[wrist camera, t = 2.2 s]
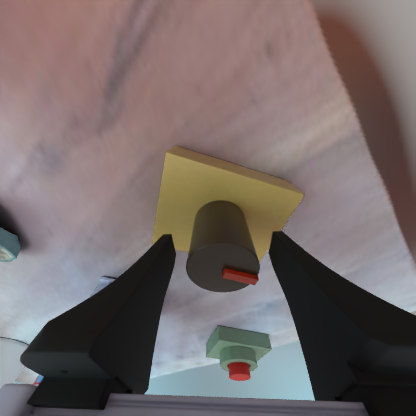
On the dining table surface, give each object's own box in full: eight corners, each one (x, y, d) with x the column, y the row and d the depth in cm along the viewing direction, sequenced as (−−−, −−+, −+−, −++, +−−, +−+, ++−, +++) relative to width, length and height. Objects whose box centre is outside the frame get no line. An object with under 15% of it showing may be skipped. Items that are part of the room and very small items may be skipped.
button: (225, 365, 29) (226, 379, 28) (232, 358, 27) (233, 372, 26) (243, 368, 29) (245, 381, 28) (251, 361, 28) (254, 375, 26)
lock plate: (160, 225, 18) (151, 244, 15) (174, 145, 14) (165, 151, 11) (249, 248, 19) (255, 268, 17) (289, 181, 15) (305, 194, 12)
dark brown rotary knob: (189, 235, 15) (178, 289, 10) (202, 193, 12) (195, 238, 8) (234, 246, 15) (243, 302, 10) (253, 208, 13) (275, 258, 8)
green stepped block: (206, 343, 33) (205, 369, 29) (218, 325, 29) (219, 353, 26) (250, 350, 34) (254, 377, 31) (268, 334, 30) (275, 362, 27)
